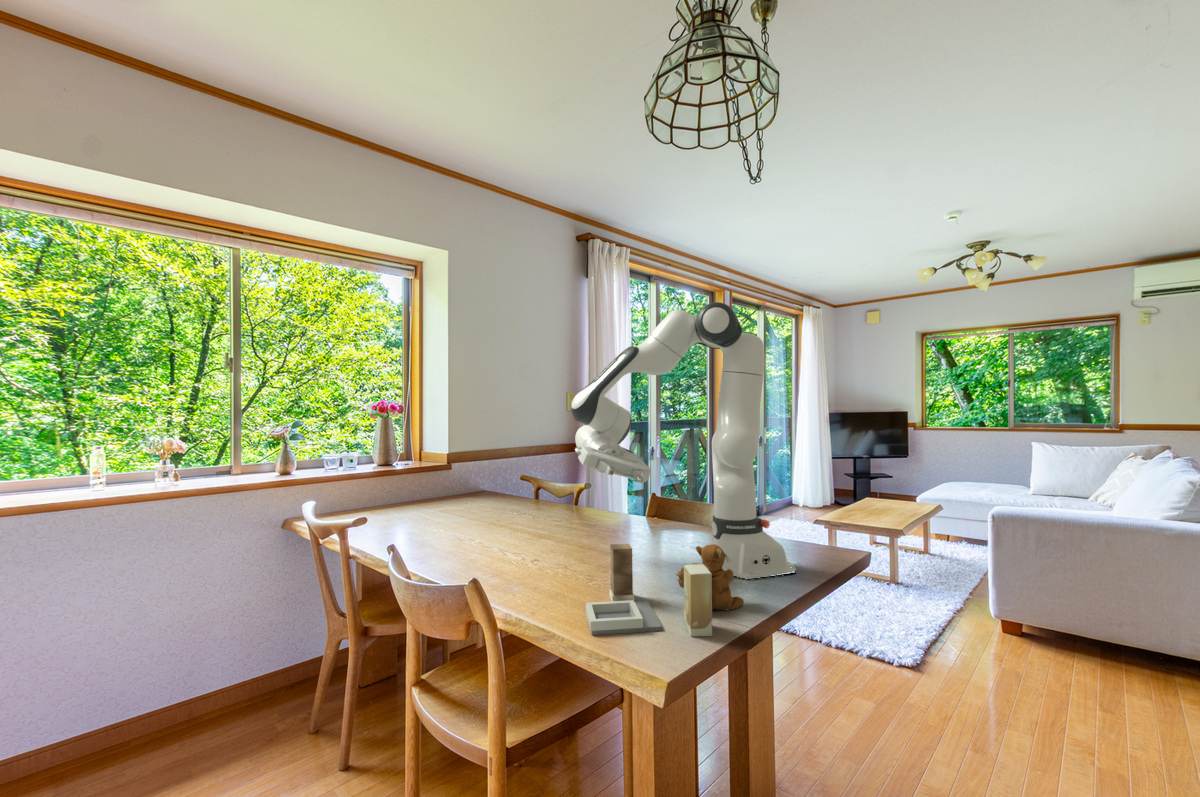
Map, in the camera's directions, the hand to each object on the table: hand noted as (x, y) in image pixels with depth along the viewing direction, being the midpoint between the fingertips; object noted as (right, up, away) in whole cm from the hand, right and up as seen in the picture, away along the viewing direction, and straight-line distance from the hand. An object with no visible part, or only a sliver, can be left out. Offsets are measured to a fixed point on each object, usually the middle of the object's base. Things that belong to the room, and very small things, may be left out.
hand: (627, 476), depth 136 cm
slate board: (-2, -27, -23) cm, 35 cm away
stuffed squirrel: (+17, -27, -17) cm, 36 cm away
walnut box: (-2, -27, -11) cm, 29 cm away
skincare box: (+13, -26, -29) cm, 41 cm away
